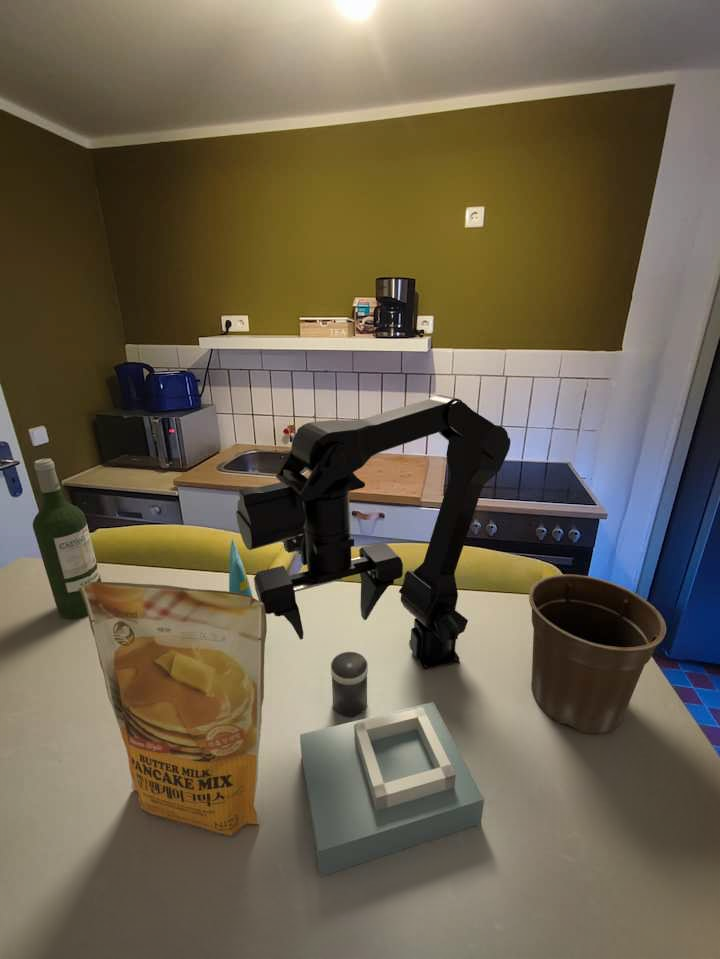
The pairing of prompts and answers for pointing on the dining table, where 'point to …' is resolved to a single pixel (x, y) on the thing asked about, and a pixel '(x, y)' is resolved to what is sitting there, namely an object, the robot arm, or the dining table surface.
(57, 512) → the wine bottle
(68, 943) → the dining table surface
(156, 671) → the pancake mix bag
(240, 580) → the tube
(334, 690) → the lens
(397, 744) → the teal base with frame
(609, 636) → the plant pot
